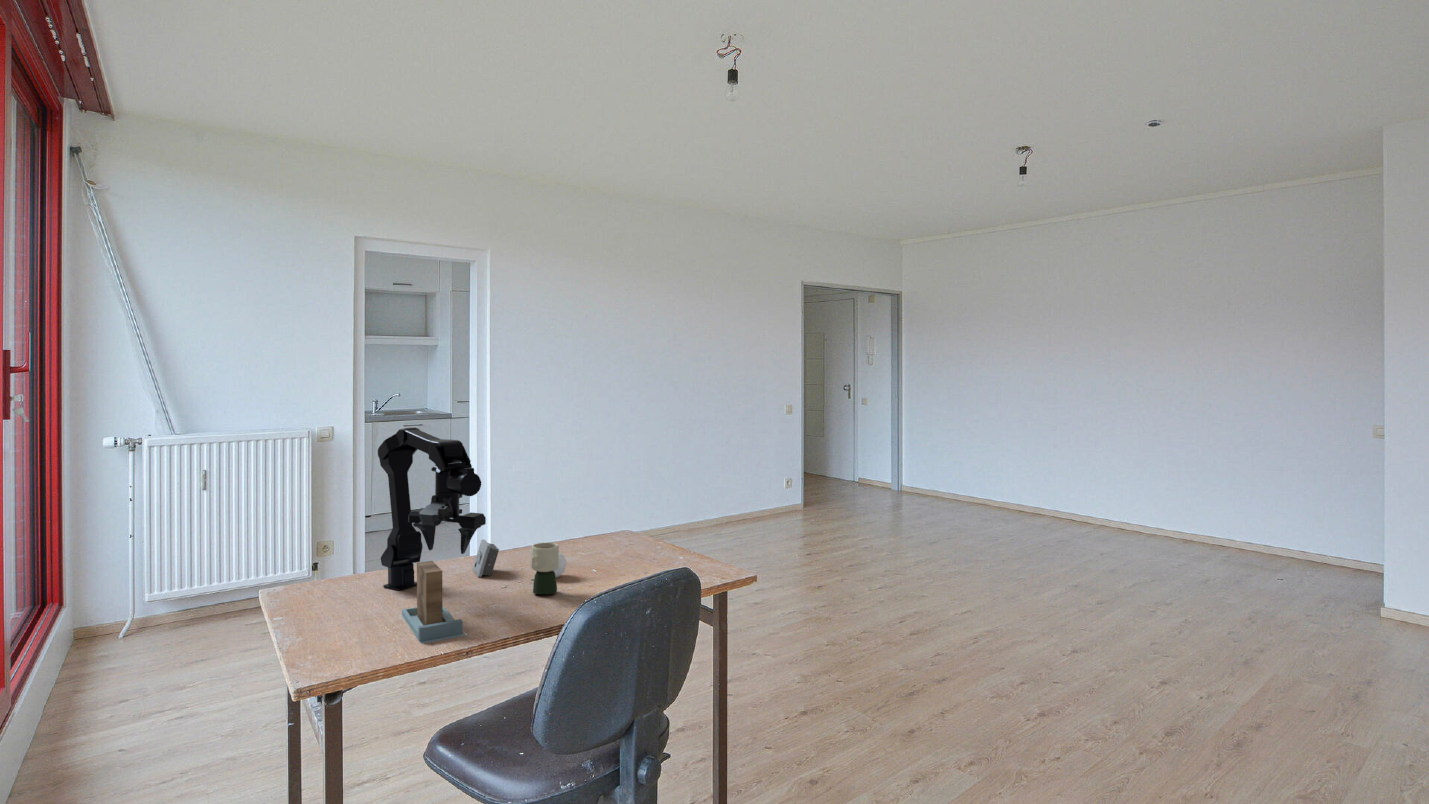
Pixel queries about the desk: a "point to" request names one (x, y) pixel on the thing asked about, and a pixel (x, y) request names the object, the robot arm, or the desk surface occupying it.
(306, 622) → the desk surface
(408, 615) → the slot base
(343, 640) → the desk surface
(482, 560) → the electrical switch
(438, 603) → the brown wooden block
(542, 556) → the character mug
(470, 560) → the desk surface
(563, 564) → the geometric ball
